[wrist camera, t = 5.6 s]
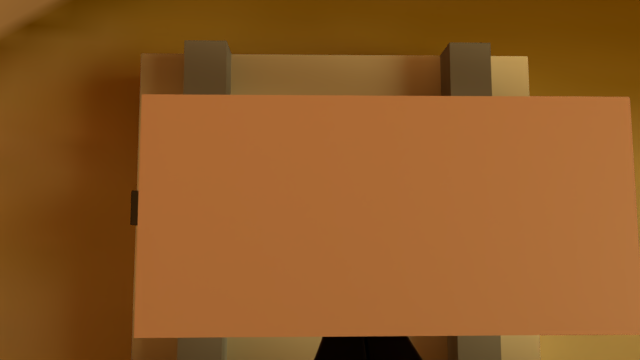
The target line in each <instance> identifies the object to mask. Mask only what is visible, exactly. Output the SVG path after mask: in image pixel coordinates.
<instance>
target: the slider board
mask: <svg viewBox="0 0 640 360" xmlns="http://www.w3.org/2000/svg"><path fill="white" fill-rule="evenodd" d="M142 94H175V95H360V96H529V77H528V56H491V51H490V43H449V44H448V45H447V47H446V48H445V50H444V51H443V52H442V54H441V55H440V56H403V55H269V54H231V52H230V49H229V46H228V44H227V41H185V48H184V54H141V73H140V104H139V135H138V166H137V191H132V194H131V224H130V225H136V228H135V259H134V290H133V320H132V351H131V360H314V358H315V356H316V353H317V350H318V348H319V345H320V342H321V340H322V337H200V338H134V320H135V288H136V257H137V226H138V195H139V163H140V132H141V101H142ZM408 337H409V339H410V340H411V342H412V344H413V345H414V347H415V348H416V350H417V351H418V353H419V355H420V356H421V358H422V359H423V360H541V358H540V335H495V336H408Z"/></svg>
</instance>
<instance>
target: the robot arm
mask: <svg viewBox="0 0 640 360" xmlns="http://www.w3.org/2000/svg"><path fill="white" fill-rule="evenodd" d="M314 360H423V359H422V358H421V356H420V355H419V353H418V351H417V350H416V348H415V347H414V345H413V344H412V342H411V340H410V339H409V337H408V336H348V337H322V340H321V342H320V345H319V348H318V350H317V353H316V356H315V358H314Z"/></svg>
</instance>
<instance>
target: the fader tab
mask: <svg viewBox="0 0 640 360" xmlns="http://www.w3.org/2000/svg"><path fill="white" fill-rule="evenodd" d="M495 335H640V255H639V239H638V223H637V206H636V190H635V174H634V158H633V142H632V126H631V110H630V97H545V96H360V95H175V94H142V101H141V132H140V163H139V195H138V226H137V257H136V288H135V320H134V338H200V337H348V336H495Z"/></svg>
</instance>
